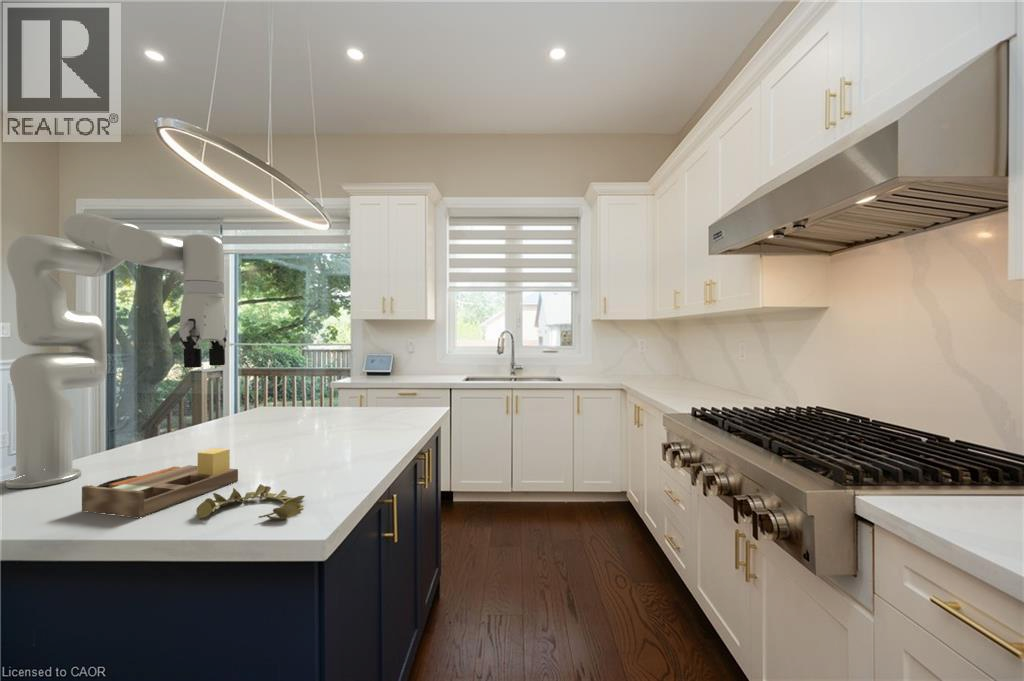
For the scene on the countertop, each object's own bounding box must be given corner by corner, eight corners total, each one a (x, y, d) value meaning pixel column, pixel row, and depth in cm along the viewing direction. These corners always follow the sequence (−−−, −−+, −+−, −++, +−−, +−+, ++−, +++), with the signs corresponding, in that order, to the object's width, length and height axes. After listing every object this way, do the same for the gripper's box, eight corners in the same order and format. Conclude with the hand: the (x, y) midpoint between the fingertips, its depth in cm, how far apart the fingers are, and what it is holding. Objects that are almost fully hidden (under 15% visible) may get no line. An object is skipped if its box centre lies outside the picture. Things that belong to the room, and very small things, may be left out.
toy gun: (156, 466, 115) (182, 466, 112) (156, 474, 115) (183, 475, 112) (85, 483, 101) (113, 485, 98) (85, 493, 101) (113, 495, 98)
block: (197, 473, 103) (197, 452, 103) (214, 468, 107) (214, 448, 107) (213, 475, 102) (213, 453, 102) (229, 469, 106) (229, 449, 106)
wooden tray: (81, 511, 87) (81, 486, 87) (188, 477, 110) (188, 457, 110) (139, 518, 84) (139, 492, 84) (237, 481, 106) (238, 461, 106)
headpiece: (288, 532, 82) (327, 505, 97) (290, 510, 82) (328, 486, 97) (182, 520, 83) (236, 495, 98) (184, 499, 83) (238, 477, 98)
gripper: (207, 295, 106) (208, 365, 106) (160, 285, 89) (162, 369, 89) (240, 295, 107) (241, 364, 107) (200, 285, 90) (201, 367, 90)
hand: (205, 366), depth 98 cm, fingers open, 9 cm apart
